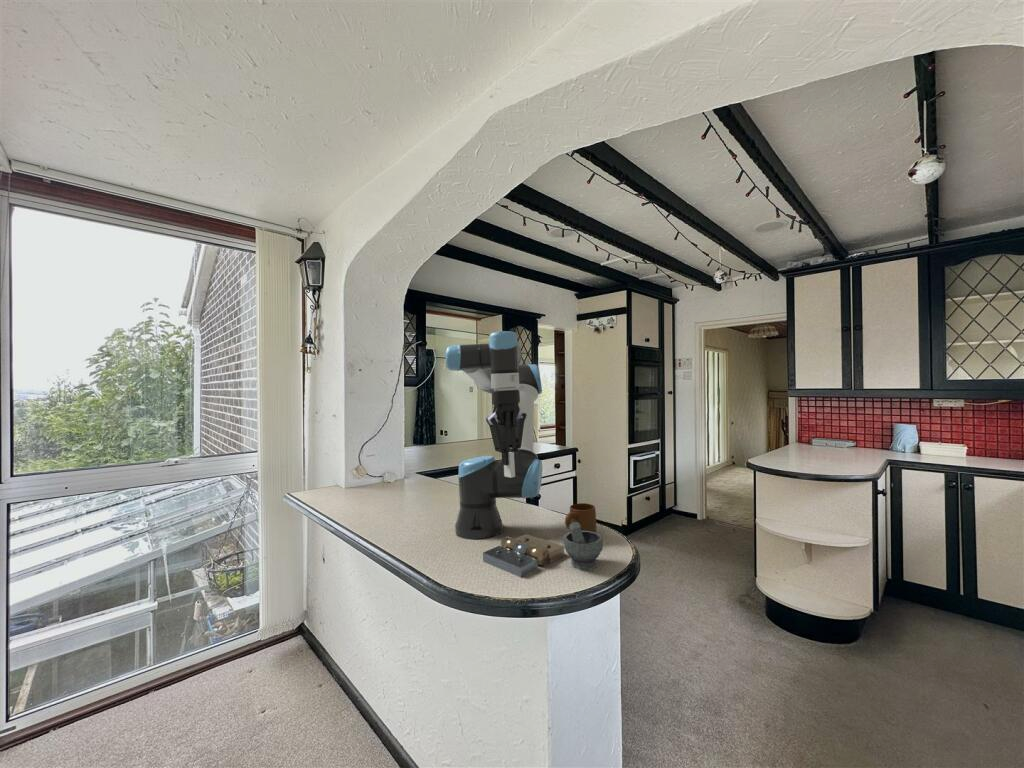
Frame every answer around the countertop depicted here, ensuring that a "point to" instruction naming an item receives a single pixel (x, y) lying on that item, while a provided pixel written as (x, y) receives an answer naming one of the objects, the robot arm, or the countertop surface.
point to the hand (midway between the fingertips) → (509, 476)
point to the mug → (582, 516)
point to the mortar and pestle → (582, 547)
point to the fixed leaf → (536, 548)
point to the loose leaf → (511, 559)
